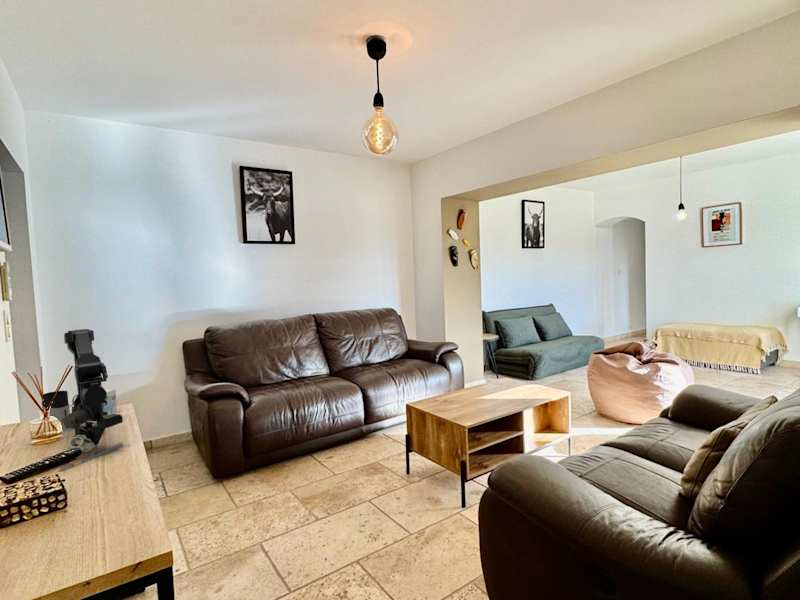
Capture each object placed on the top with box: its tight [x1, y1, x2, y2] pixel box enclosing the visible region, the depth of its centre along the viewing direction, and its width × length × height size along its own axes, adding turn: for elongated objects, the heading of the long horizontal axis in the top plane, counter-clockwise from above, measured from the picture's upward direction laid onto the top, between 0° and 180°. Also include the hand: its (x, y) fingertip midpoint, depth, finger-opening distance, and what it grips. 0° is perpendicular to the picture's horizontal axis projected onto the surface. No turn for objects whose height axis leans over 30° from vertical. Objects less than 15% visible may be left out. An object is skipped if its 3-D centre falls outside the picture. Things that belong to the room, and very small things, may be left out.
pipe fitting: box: [67, 435, 95, 453], centre depth 135 cm, size 8×4×7 cm
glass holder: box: [41, 390, 78, 434], centre depth 155 cm, size 9×14×15 cm, turn 108°
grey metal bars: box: [31, 442, 124, 472], centre depth 131 cm, size 19×14×2 cm
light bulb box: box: [103, 388, 118, 417], centre depth 170 cm, size 11×7×11 cm, turn 1°
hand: (95, 444), depth 136 cm, fingers closed
